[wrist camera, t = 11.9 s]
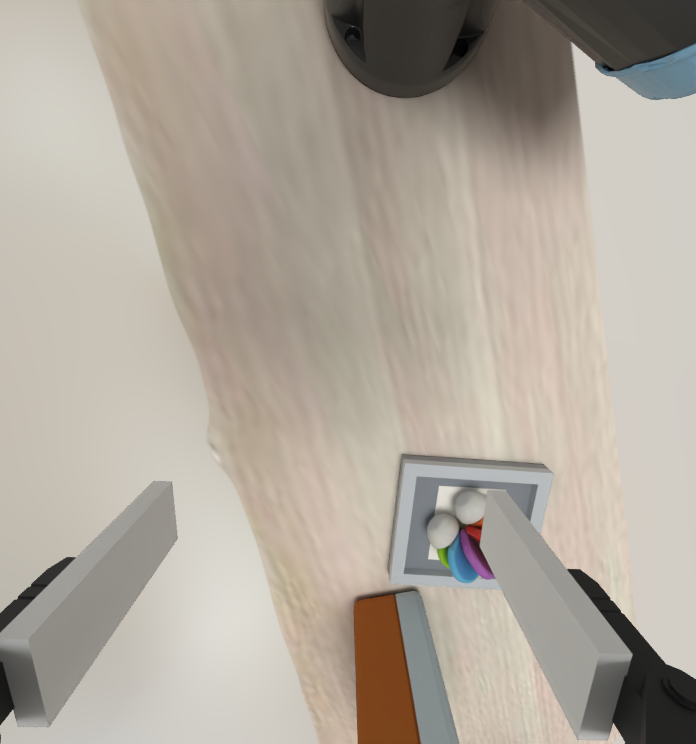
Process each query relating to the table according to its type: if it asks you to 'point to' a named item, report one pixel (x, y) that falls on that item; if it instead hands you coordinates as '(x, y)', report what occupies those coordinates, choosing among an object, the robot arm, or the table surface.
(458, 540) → the rainbow disc rolling toy
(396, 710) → the rectangular block
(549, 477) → the square gray tray
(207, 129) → the table surface
